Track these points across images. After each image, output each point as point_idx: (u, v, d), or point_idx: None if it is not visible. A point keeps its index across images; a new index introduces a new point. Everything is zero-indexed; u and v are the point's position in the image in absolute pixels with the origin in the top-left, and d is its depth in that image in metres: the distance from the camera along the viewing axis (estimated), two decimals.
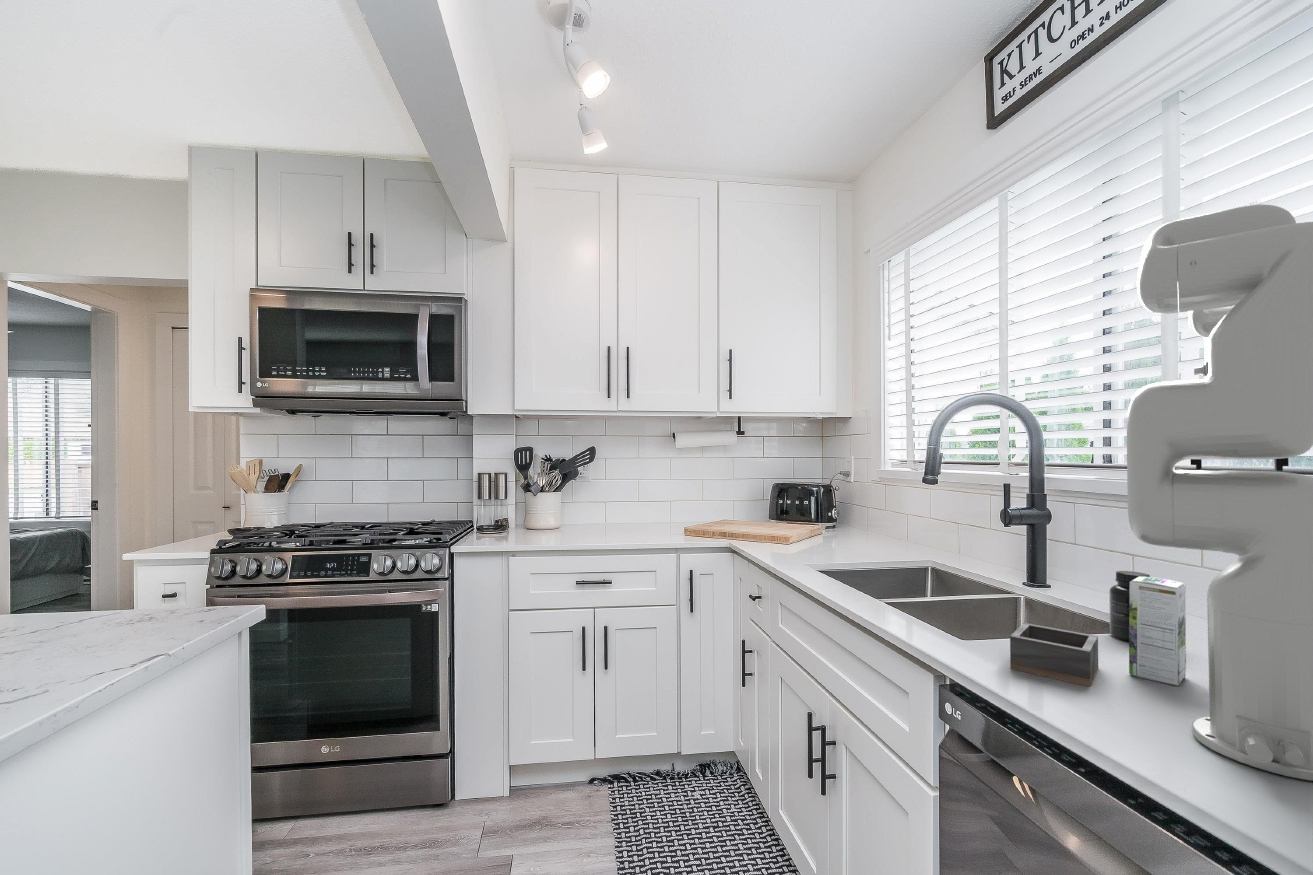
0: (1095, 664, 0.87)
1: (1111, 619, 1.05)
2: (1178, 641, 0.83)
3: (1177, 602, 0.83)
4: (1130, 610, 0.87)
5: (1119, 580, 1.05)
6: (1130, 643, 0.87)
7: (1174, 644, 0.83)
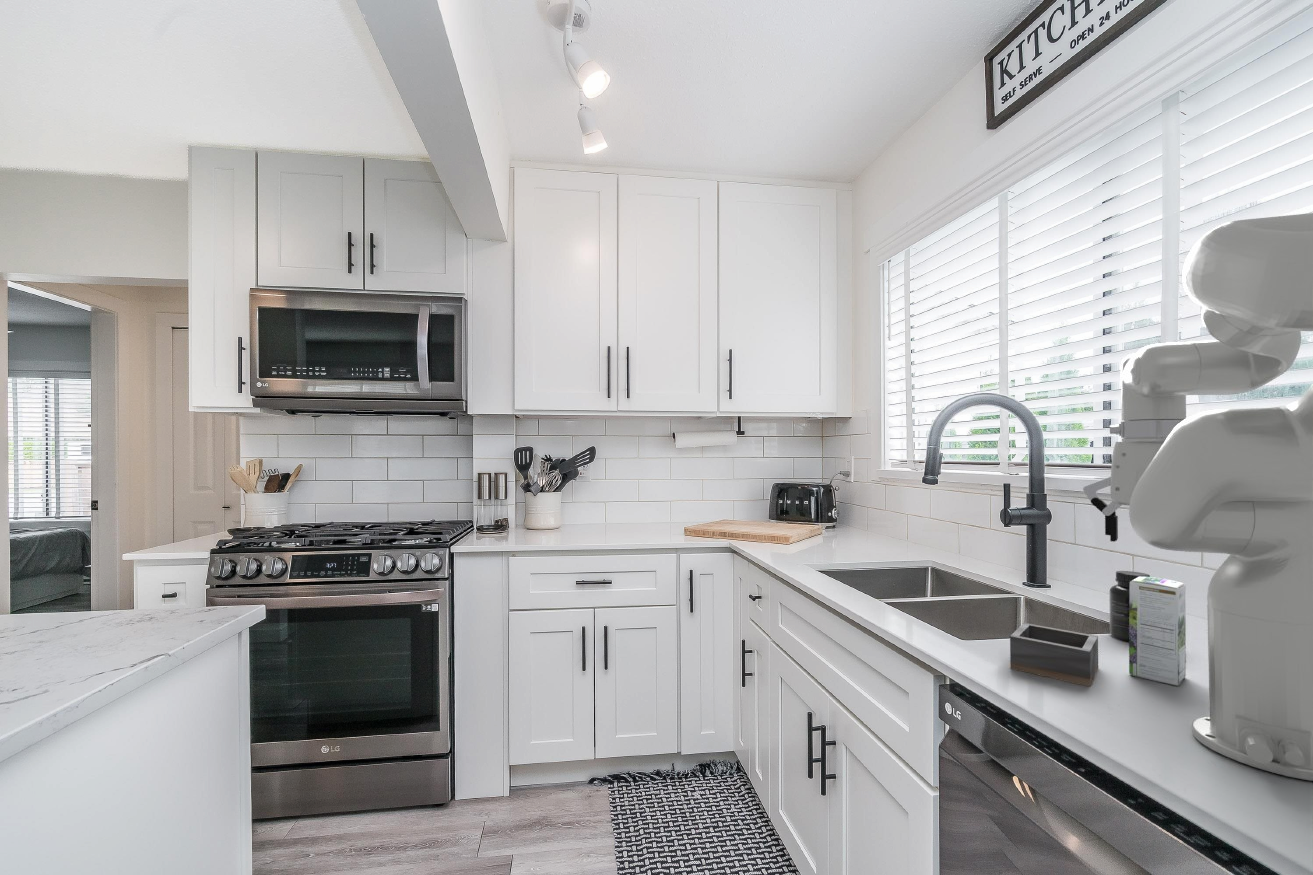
0: (1095, 664, 0.87)
1: (1111, 619, 1.05)
2: (1178, 641, 0.83)
3: (1177, 602, 0.83)
4: (1130, 610, 0.87)
5: (1119, 580, 1.05)
6: (1130, 643, 0.87)
7: (1175, 644, 0.83)
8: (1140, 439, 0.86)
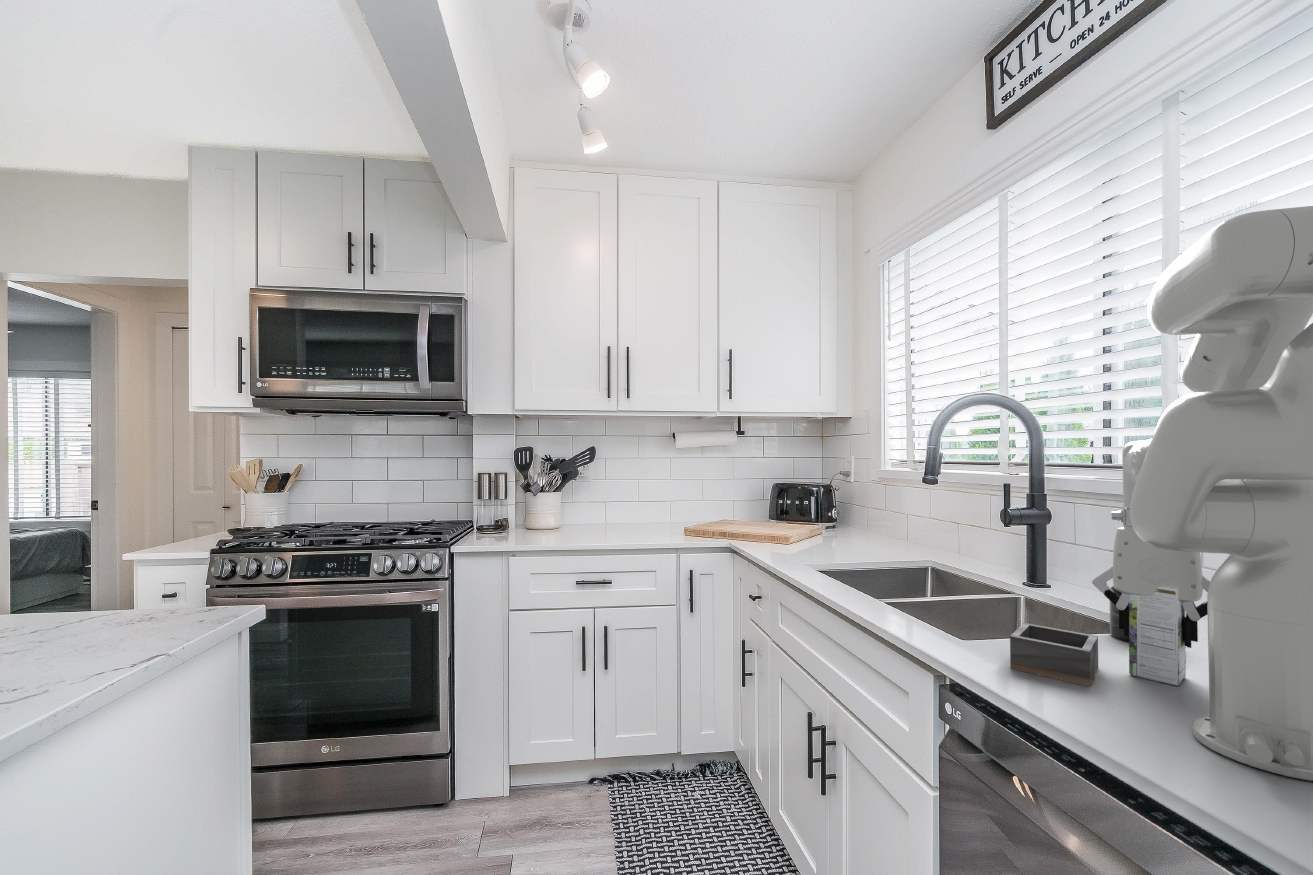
0: (1095, 664, 0.87)
1: (1111, 619, 1.05)
2: (1178, 641, 0.83)
3: (1177, 602, 0.83)
4: (1130, 610, 0.87)
5: None
6: (1130, 643, 0.87)
7: (1174, 644, 0.83)
8: None
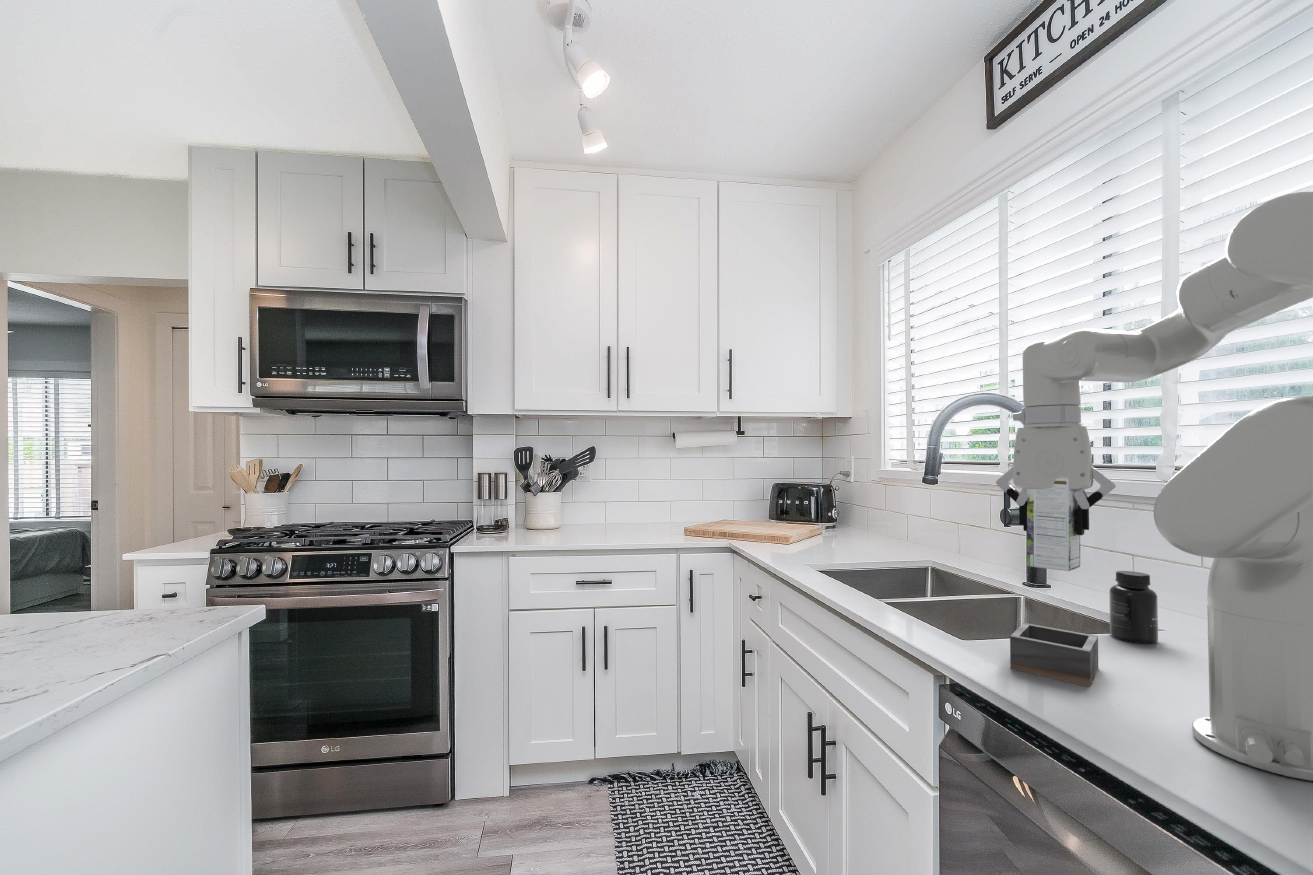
0: (1095, 664, 0.87)
1: (1111, 619, 1.05)
2: (1069, 528, 0.86)
3: (1068, 491, 0.86)
4: (1028, 504, 0.90)
5: (1119, 580, 1.05)
6: (1028, 535, 0.90)
7: (1066, 531, 0.86)
8: (1037, 424, 0.89)
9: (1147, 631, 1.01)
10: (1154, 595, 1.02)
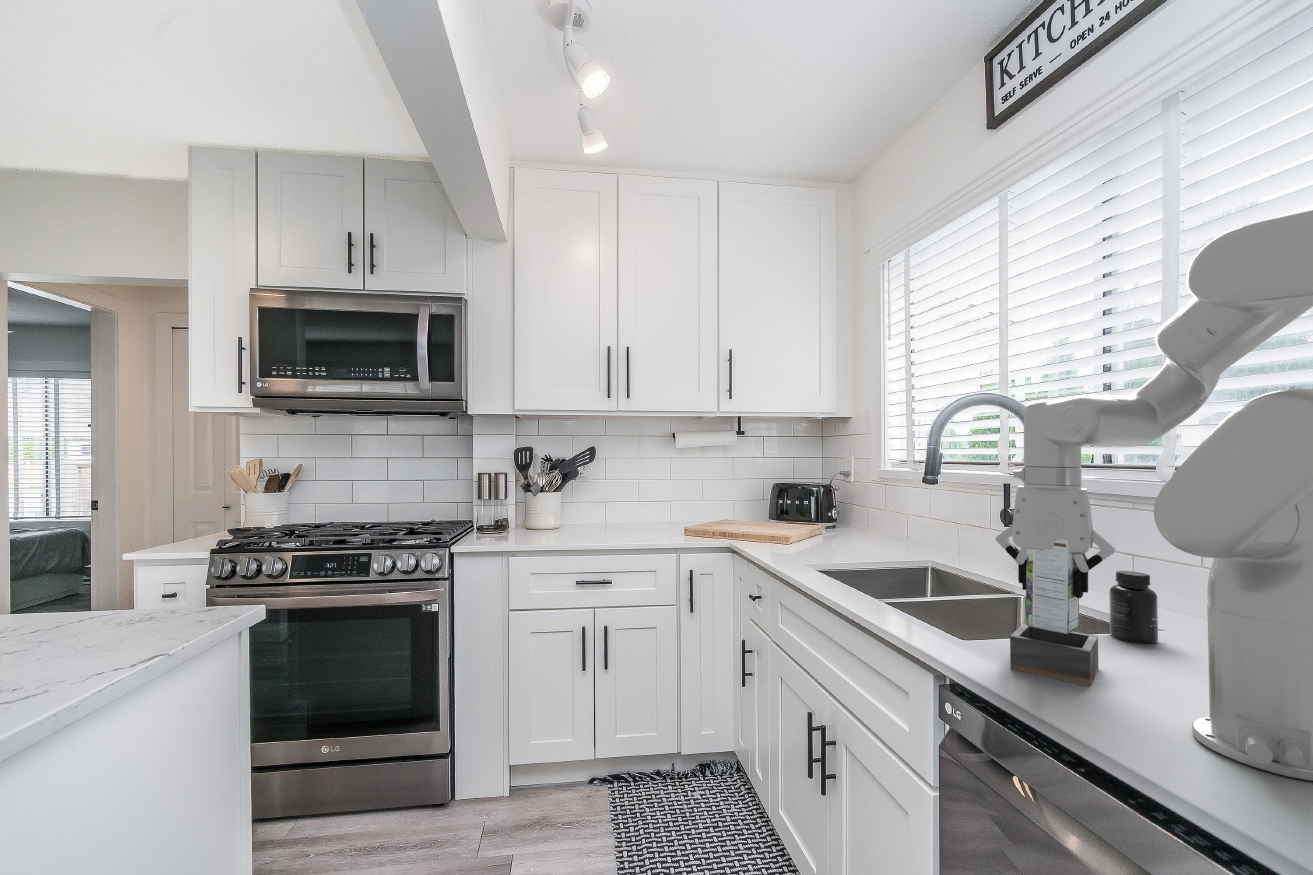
0: (1095, 664, 0.87)
1: (1111, 619, 1.05)
2: (1068, 591, 0.86)
3: (1067, 554, 0.86)
4: (1027, 563, 0.90)
5: (1119, 580, 1.05)
6: (1026, 595, 0.90)
7: (1065, 594, 0.86)
8: (1037, 485, 0.88)
9: (1147, 631, 1.01)
10: (1154, 595, 1.02)
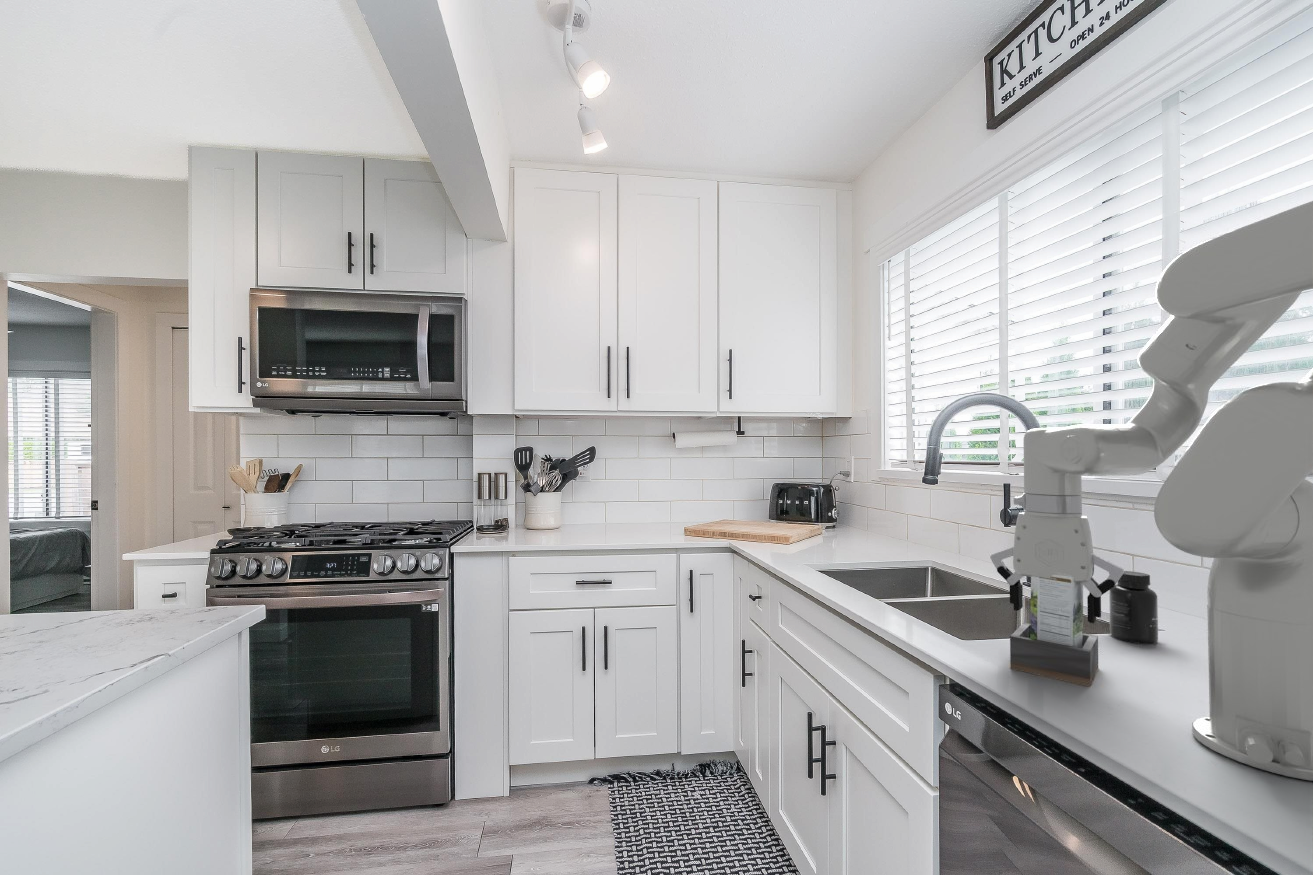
0: (1095, 664, 0.87)
1: (1111, 619, 1.05)
2: (1073, 627, 0.86)
3: (1072, 590, 0.86)
4: (1031, 598, 0.89)
5: (1119, 580, 1.05)
6: (1031, 630, 0.89)
7: (1070, 630, 0.86)
8: (1038, 513, 0.88)
9: (1147, 631, 1.01)
10: (1154, 595, 1.02)
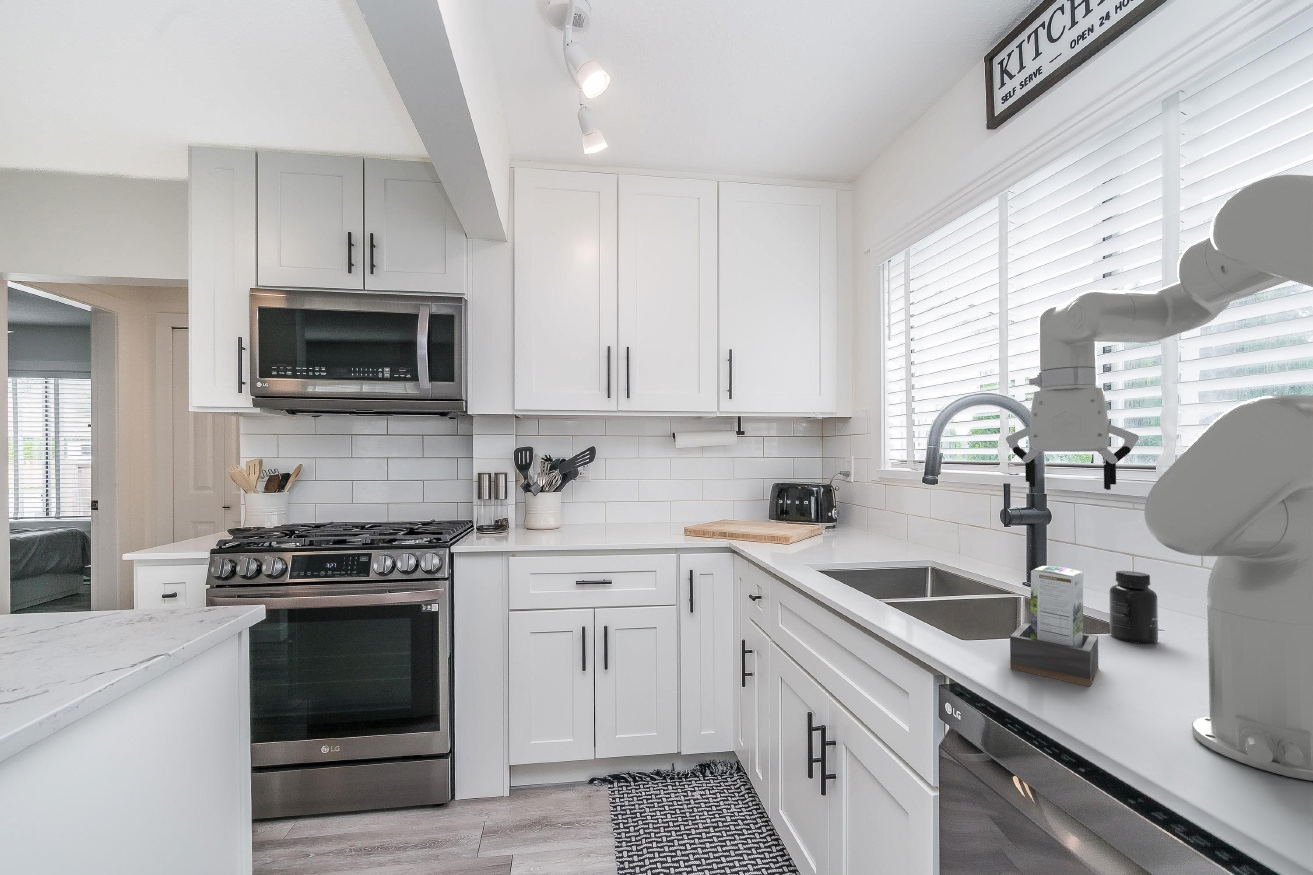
0: (1095, 664, 0.87)
1: (1111, 619, 1.05)
2: (1073, 627, 0.86)
3: (1072, 590, 0.86)
4: (1031, 598, 0.89)
5: (1119, 580, 1.05)
6: (1031, 630, 0.89)
7: (1070, 630, 0.86)
8: (1055, 387, 0.90)
9: (1147, 631, 1.01)
10: (1154, 595, 1.02)
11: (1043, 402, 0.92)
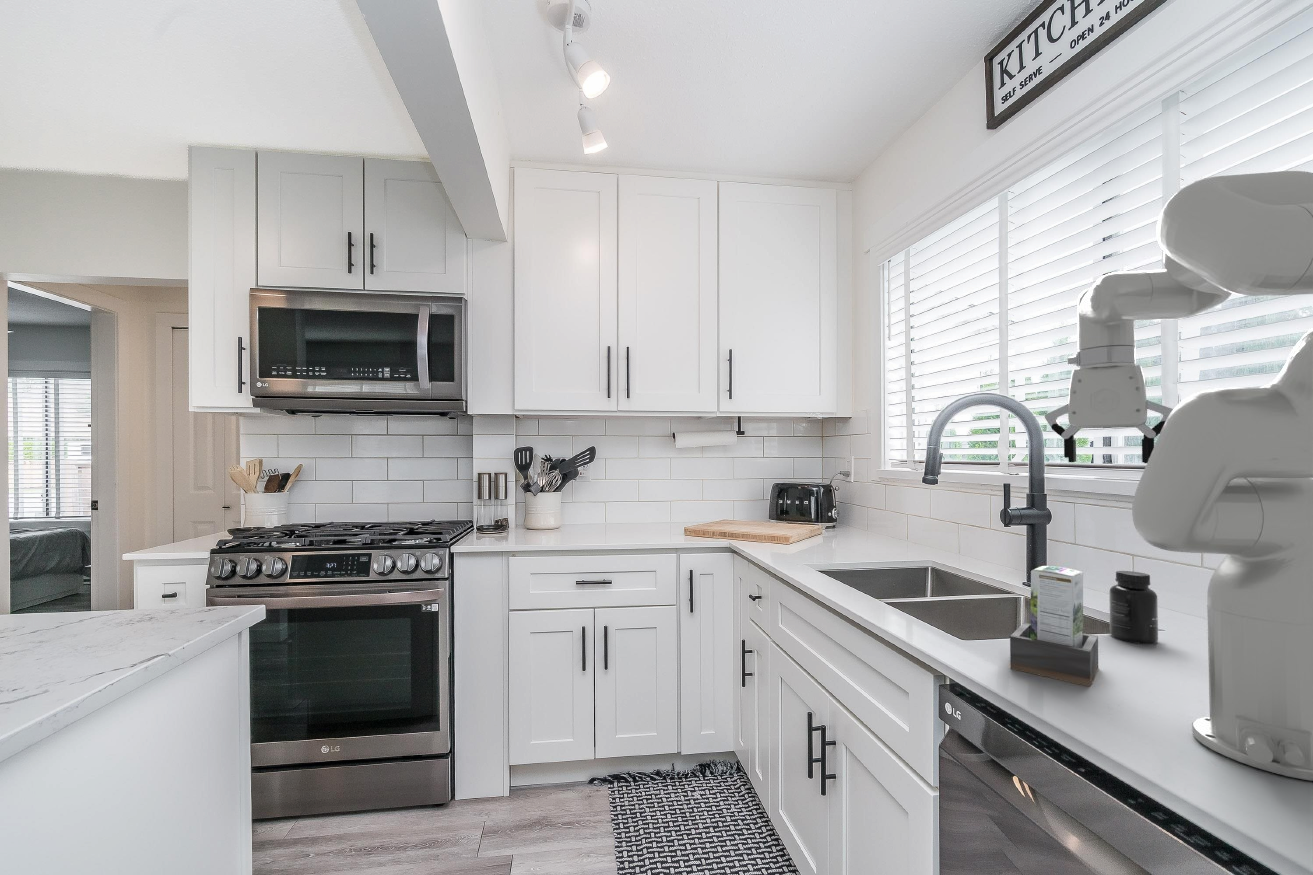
0: (1095, 664, 0.87)
1: (1111, 619, 1.05)
2: (1073, 627, 0.86)
3: (1072, 590, 0.86)
4: (1031, 598, 0.89)
5: (1119, 580, 1.05)
6: (1031, 630, 0.89)
7: (1070, 630, 0.86)
8: (1093, 365, 0.94)
9: (1147, 631, 1.01)
10: (1154, 595, 1.02)
11: (1082, 380, 0.95)
